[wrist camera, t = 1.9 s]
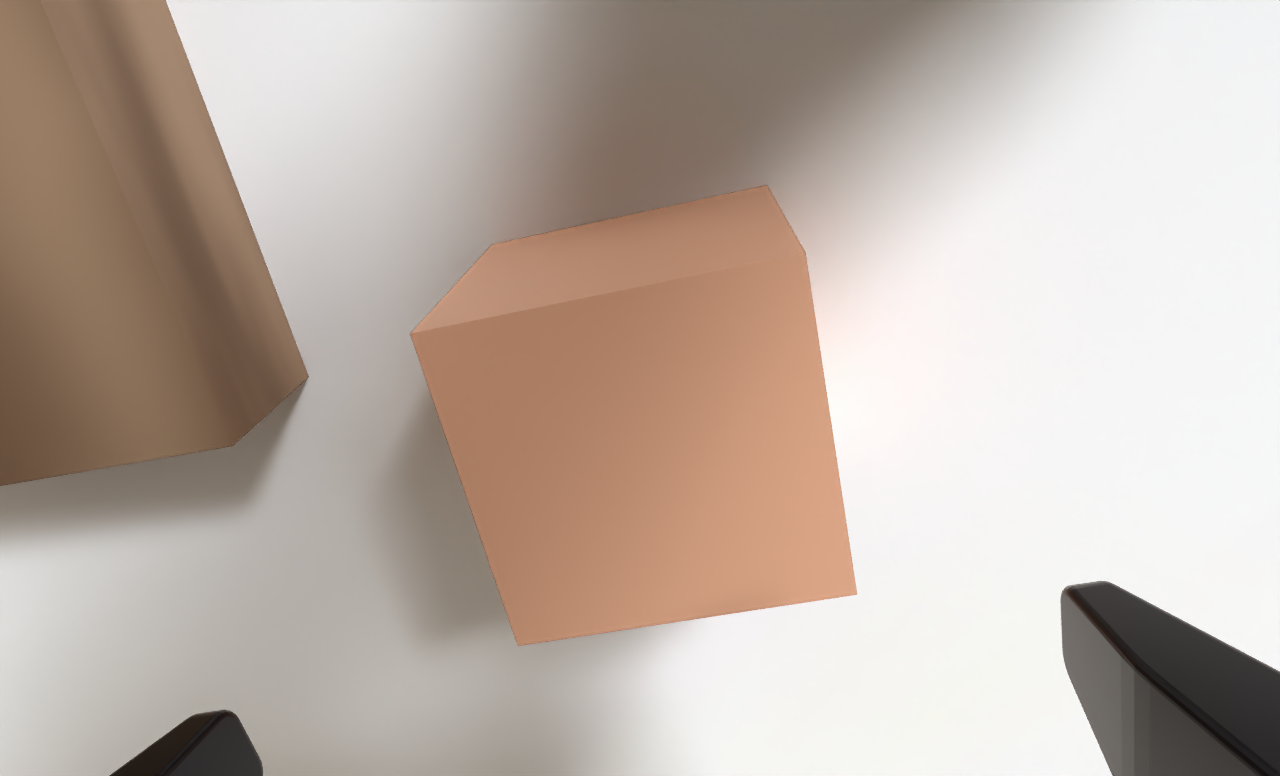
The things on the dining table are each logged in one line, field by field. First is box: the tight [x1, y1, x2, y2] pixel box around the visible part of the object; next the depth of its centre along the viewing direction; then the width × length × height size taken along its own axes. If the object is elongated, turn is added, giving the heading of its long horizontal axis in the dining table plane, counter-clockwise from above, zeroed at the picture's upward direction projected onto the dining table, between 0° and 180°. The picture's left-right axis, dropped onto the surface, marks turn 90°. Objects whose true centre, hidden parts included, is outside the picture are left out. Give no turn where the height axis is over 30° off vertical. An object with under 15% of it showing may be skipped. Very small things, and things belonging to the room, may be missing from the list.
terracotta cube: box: [410, 185, 857, 646], centre depth 16 cm, size 6×6×6 cm
